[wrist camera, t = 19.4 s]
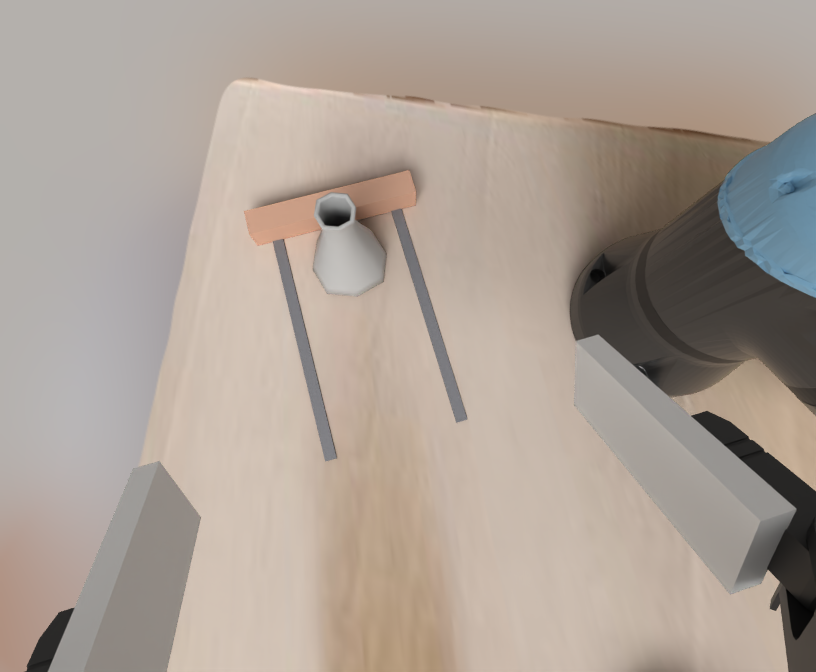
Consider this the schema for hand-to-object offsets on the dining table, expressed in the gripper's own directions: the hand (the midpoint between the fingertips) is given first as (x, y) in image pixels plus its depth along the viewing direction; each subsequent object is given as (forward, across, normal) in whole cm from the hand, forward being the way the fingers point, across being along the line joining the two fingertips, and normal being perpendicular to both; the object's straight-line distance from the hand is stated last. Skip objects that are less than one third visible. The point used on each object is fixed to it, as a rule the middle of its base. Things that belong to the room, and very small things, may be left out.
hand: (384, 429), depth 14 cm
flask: (+30, 0, -6) cm, 31 cm away
